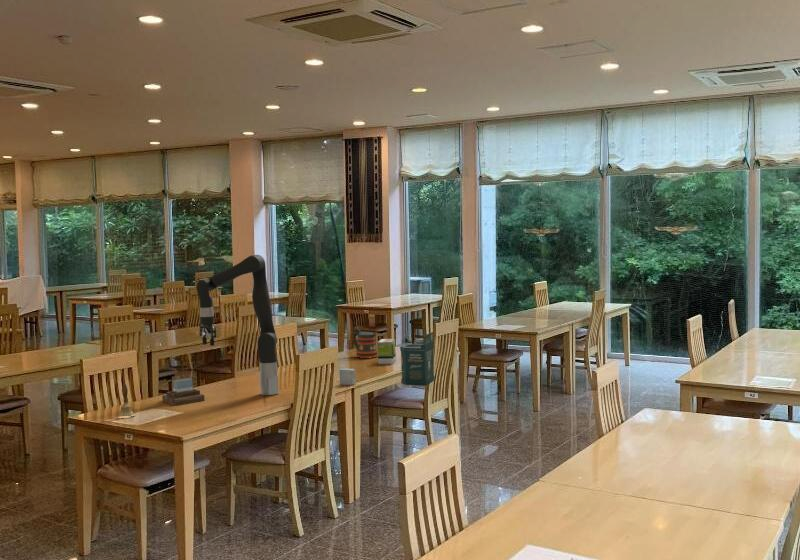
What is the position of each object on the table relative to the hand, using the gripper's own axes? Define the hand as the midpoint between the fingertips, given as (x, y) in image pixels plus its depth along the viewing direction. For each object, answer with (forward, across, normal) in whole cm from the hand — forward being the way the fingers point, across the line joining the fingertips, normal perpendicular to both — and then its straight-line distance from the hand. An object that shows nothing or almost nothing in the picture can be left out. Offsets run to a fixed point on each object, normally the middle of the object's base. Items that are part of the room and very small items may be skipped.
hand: (208, 345), depth 436 cm
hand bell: (+26, +22, -57) cm, 66 cm away
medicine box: (+28, +39, +65) cm, 80 cm away
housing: (+23, +8, -20) cm, 32 cm away
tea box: (+28, -4, +130) cm, 133 cm away
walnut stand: (+26, +8, -20) cm, 34 cm away
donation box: (+28, +64, +94) cm, 117 cm away
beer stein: (+28, -34, +135) cm, 142 cm away
